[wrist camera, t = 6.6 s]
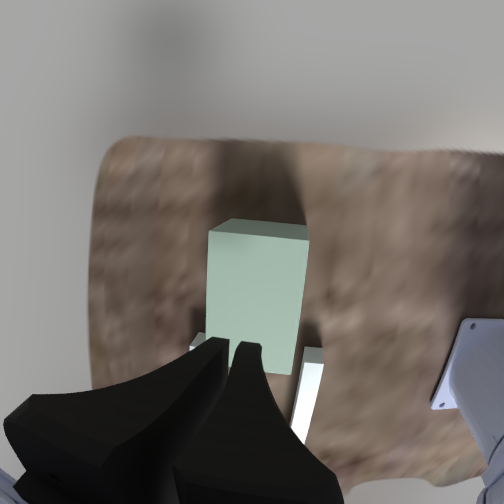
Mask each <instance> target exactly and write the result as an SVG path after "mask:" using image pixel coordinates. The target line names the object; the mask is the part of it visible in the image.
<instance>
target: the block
mask: <svg viewBox="0 0 504 504" xmlns="http://www.w3.org/2000/svg"><path fill="white" fill-rule="evenodd" d="M308 249H309V235H308V229H307V225H298V224H288V223H278V222H268V221H257V220H246V219H235V218H231V219H229V220H228V221H226V222H224V223H222V224H220V225H218V226H217V227H215V228H213V229H211V230H210V231H209V240H208V265H207V297H206V340H207V339H209V338H211V337H212V336H213V337H219V338H226V339H230V344H229V366H228V367H231V364H232V361H233V357H234V353H235V350H236V348H237V346H238V345H239V343H240V342H241V341H246V342H254V343H260V345H261V346H262V355H261V356H262V363H263V368H264V372H270V373H278V374H287V375H291V371H292V365H293V359H294V352H295V346H296V339H297V333H298V326H299V319H300V312H301V305H302V298H303V290H304V282H305V274H306V266H307V258H308Z"/></svg>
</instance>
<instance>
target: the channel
mask: <svg viewBox="0 0 504 504" xmlns="http://www.w3.org/2000/svg"><path fill="white" fill-rule="evenodd" d="M204 341H206V333H202V332H199V333H198V334H197V336H196V337H195V339H194V340H193V342H192V343H191V345H190V351H191V350H192V349H194V348H195V347H197V346H198V345H200V344H201V343H203V342H204ZM323 366H324V360H323V349H322V348H316V347H306V346H305V347H304V353H303V359H302V364H301V370H300V375H299V381H298V386H297V391H296V396H295V401H294V406H293V411H292V416H291V421H290V425H289V426H290V427H291V428H292V430H293V431H294V432H295V434H296V435H297V436H298V438H299V439H300V440H301V441H302V443H303V444H304V442H305V439H306V435H307V431H308V428H309V424H310V420H311V416H312V412H313V408H314V404H315V400H316V396H317V392H318V388H319V384H320V379H321V375H322V370H323Z"/></svg>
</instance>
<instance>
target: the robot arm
mask: <svg viewBox="0 0 504 504" xmlns="http://www.w3.org/2000/svg"><path fill="white" fill-rule="evenodd" d="M473 323H474V325H473V326H472V327H471V325H472V324H473ZM470 327H471V328H470ZM229 344H230V339H226V338H219V337H213V336H212V337H211V338H209V339H207V340H206V341H204V342H203V343H201V344H200V345H198V346H197V347H195V348H194V349H192V350H191V351H189V352H187V353H186V354H184V355H182V356H181V357H179V358H178V359H176V360H174V361H172V362H170V363H168V364H166V365H164V366H162V367H161V368H159V369H157V370H155V371H152V372H150V373H148V374H146V375H143V376H141V377H138V378H135V379H133V380H130V381H127V382H123V383H120V384H116V385H112V386H109V387H105V388H101V389H96V390H90V391H84V392H76V393H67V394H32V395H31V396H30V397H29V398H28V399H27V400H26V401H24V402H23V403H22V404H21V405H20V406H19V407H17V408H16V409H15V410H14V411H13V412H12V413H11V414H10V415H8V416H7V417H6V418H5V419H4V423H3V426H4V431H5V435H6V437H7V439H8V441H9V443H10V445H11V446H12V448H13V450H14V452H15V453H16V454H17V457H18V458H19V460H20V461H21V463H22V465H23V466H24V468H25V469H26V472H25V473H24V474H23V475H22V476H21V477H20V479H19V480H18V481H17V480H15V479H14V478H12V477H11V476H10V475H9V474H7V473H6V472H5V471H3V470H2V469H1V468H0V504H344V499H343V495H342V492H341V489H340V486H339V483H338V480H337V477H336V475H335V474H334V473H333V472H332V471H331V470H330V469H328V468H327V467H326V466H325V465H324V464H323V463H321V462H320V461H319V460H318V459H317V458H316V457H315V456H314V455H313V454H312V453H311V452H310V451H309V449H308V448H307V447H306V446H305V445H304V444H303V443H302V441H301V440H300V439H299V438H298V436H297V435H296V434H295V432H294V431H293V430H292V428H291V427H290V426H289V424H288V423H287V421H286V419H285V418H284V416H283V415H282V413H281V411H280V409H279V407H278V406H277V404H276V402H275V399H274V397H273V395H272V392H271V390H270V387H269V385H268V382H267V379H266V375H265V372H264V368H263V363H262V356H261V355H262V346H261V345H260V343H254V342H246V341H241V342H240V343H239V345H238V346H237V348H236V350H235V353H234V357H233V361H232V364H231V368H230V372H229V375H228V366H229ZM441 403H442V404H441ZM430 406H431V408H432V409H433V410H437V409H450V408H458V409H459V410H460V412H461V414H462V416H463V418H464V420H465V421H466V423H467V425H468V427H469V429H470V431H471V433H472V435H473V437H474V439H475V441H476V443H477V445H478V447H479V449H480V451H481V453H482V455H483V457H484V459H485V461H486V463H487V465H488V468H487V469H486V470H485V471H484V472H483V473H482V475H481V477H482V479H483V482H484V484H485V486H486V487H485V488H484V489H483V490H482V491H481V493H480V494H479V496H478V499H477V503H476V504H504V319H483V318H466V319H464V320H463V321H462V323H461V325H460V328H459V331H458V334H457V337H456V340H455V343H454V346H453V349H452V352H451V355H450V357H449V360H448V363H447V365H446V368H445V371H444V373H443V376H442V378H441V380H440V383H439V385H438V388H437V390H436V392H435V395H434V397H433V399H432V401H431V404H430Z"/></svg>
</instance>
